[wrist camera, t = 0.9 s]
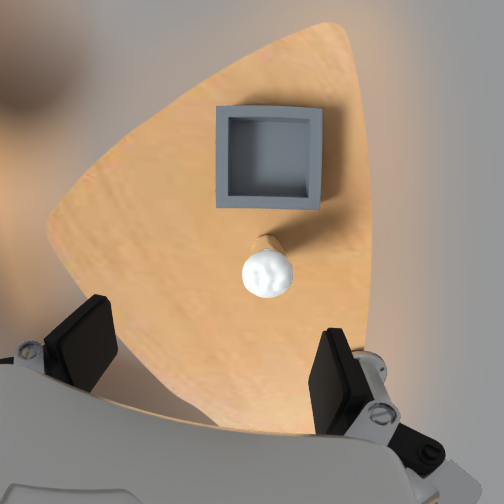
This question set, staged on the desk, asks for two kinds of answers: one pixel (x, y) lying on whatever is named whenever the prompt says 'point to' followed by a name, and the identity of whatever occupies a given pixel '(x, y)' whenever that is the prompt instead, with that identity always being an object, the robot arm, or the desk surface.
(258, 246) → the milkshake
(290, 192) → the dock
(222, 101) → the desk surface
